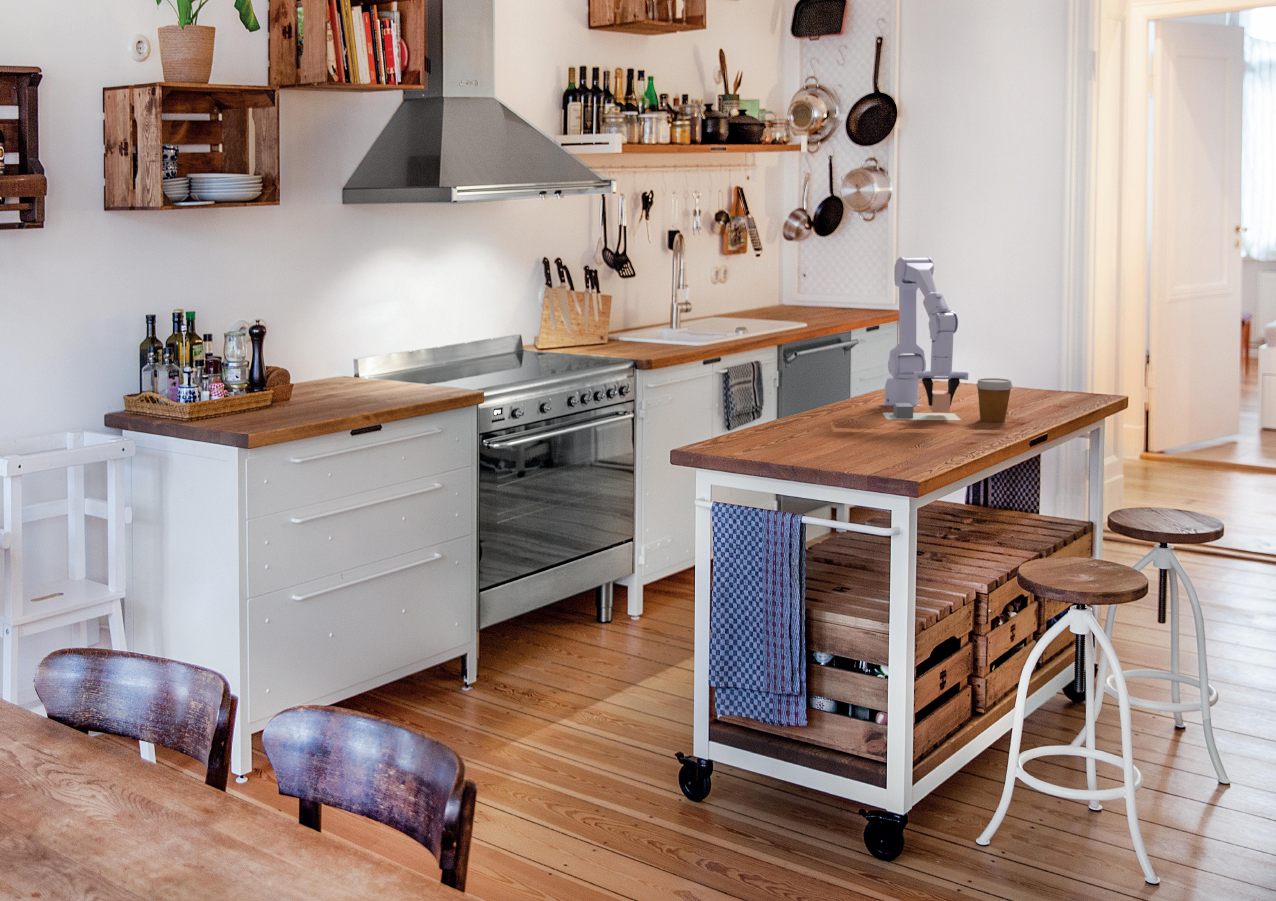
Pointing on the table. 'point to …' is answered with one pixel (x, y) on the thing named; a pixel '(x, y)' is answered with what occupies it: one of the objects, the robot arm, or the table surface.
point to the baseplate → (925, 416)
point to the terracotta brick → (940, 401)
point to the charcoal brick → (903, 410)
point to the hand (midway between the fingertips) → (939, 405)
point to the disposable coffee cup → (993, 398)
